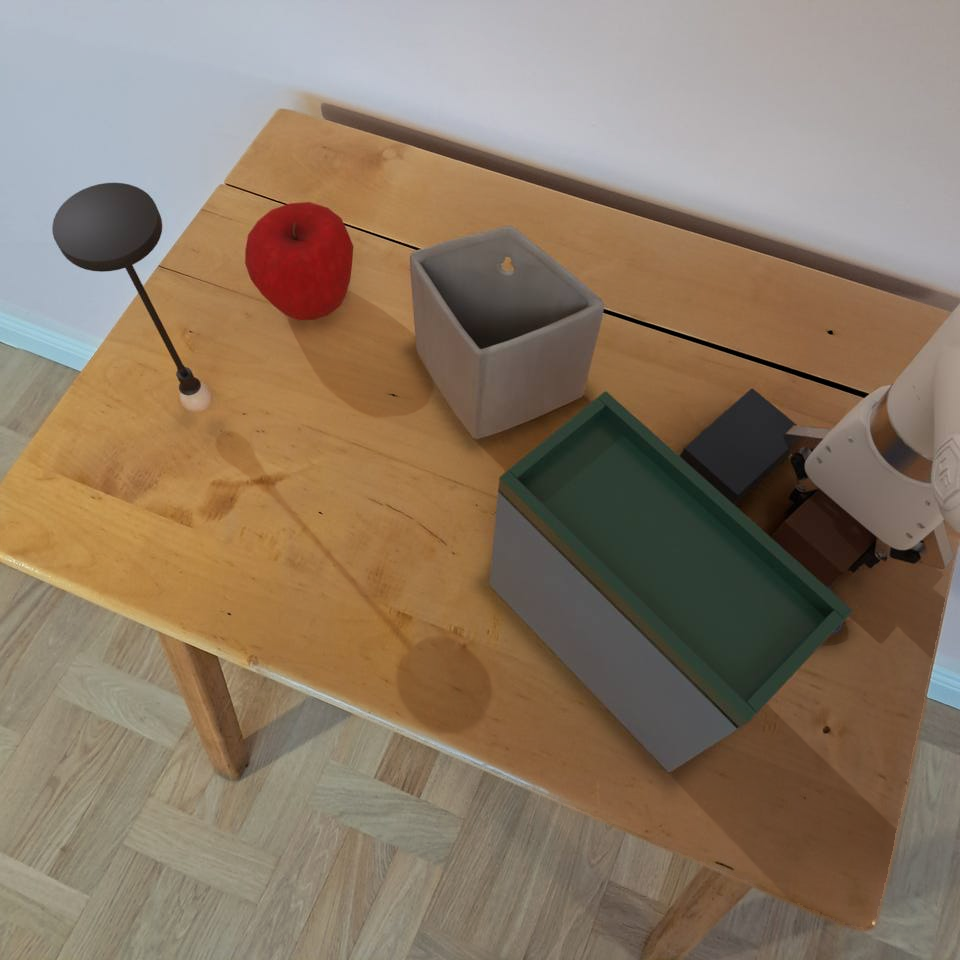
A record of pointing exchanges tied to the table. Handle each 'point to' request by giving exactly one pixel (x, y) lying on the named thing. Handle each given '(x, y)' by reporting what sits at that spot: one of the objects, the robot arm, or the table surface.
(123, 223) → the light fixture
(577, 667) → the stand
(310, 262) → the apple
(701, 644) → the box
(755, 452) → the dark grey rectangular block
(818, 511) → the brown block
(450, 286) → the planter
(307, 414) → the table surface
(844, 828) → the table surface
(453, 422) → the table surface
